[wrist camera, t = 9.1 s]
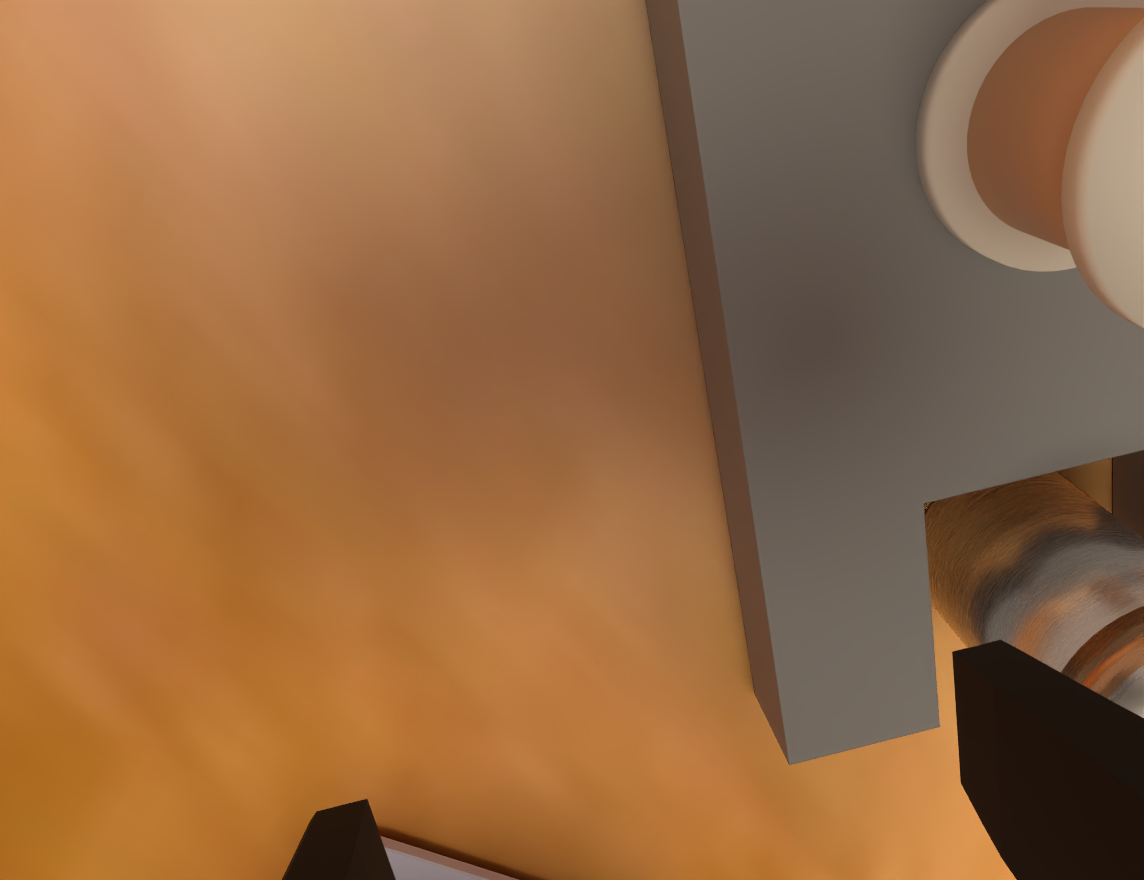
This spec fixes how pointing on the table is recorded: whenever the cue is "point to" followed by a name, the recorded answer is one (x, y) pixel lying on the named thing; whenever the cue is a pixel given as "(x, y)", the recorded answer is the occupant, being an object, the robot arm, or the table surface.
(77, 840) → the table surface
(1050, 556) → the peg
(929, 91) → the notched board
